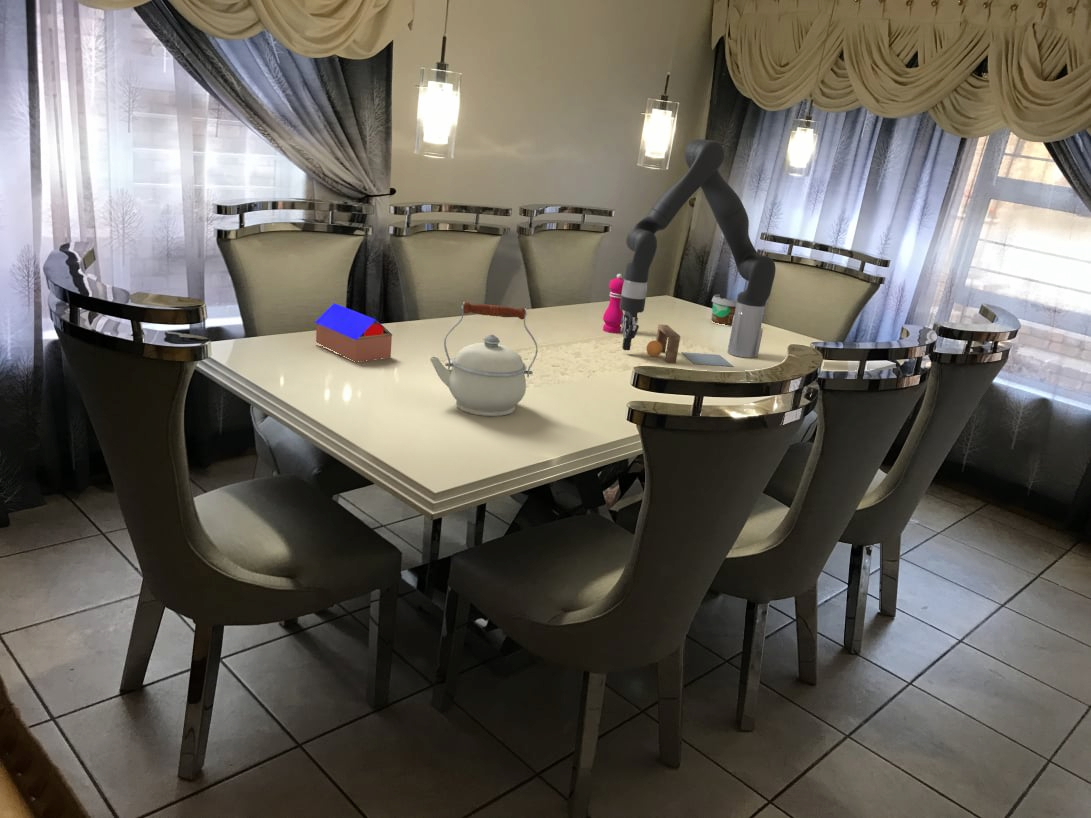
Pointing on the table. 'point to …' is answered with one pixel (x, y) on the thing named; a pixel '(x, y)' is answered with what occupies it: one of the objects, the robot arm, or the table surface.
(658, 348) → the ball
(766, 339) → the table surface
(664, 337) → the bridge
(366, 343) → the house
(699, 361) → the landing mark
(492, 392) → the kettle
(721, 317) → the food container
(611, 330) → the pepper mill
